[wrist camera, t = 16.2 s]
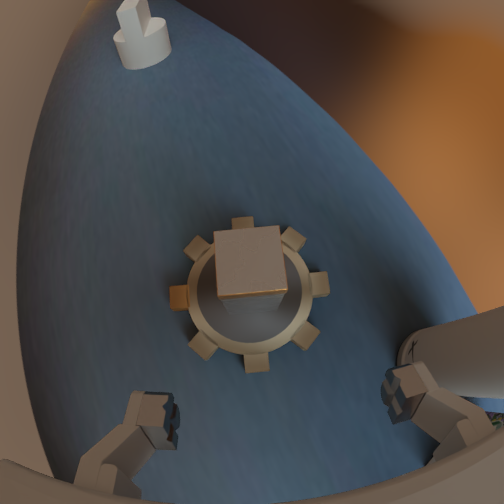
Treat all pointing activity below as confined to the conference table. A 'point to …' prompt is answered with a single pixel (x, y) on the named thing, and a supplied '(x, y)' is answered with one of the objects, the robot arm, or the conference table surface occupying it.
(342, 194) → the conference table surface
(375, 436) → the conference table surface
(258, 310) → the link block
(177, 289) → the toothed wheel
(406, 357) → the travel mug
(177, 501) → the conference table surface
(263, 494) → the conference table surface
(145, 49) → the base with upright slab
